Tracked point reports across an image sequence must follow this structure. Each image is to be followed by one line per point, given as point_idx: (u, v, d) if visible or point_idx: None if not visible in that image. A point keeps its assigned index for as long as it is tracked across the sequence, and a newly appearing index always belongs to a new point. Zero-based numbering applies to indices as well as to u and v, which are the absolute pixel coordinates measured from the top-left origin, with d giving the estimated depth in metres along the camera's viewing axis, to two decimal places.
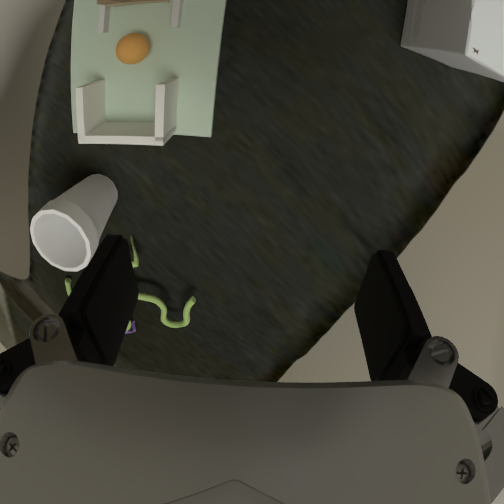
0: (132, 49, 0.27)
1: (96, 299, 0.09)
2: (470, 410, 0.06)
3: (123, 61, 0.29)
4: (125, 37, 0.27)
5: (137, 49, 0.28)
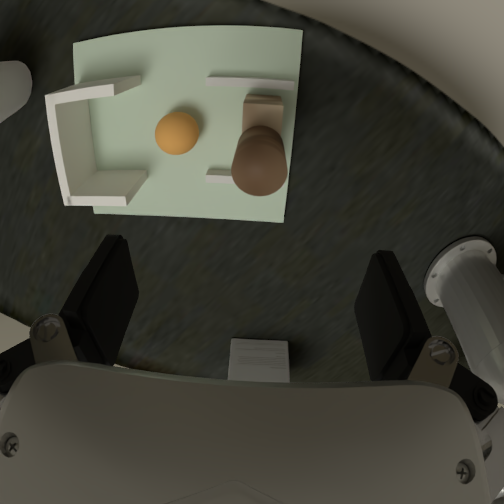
0: (171, 147, 0.25)
1: (96, 299, 0.09)
2: (470, 410, 0.06)
3: (156, 130, 0.25)
4: (190, 132, 0.25)
5: (172, 151, 0.26)
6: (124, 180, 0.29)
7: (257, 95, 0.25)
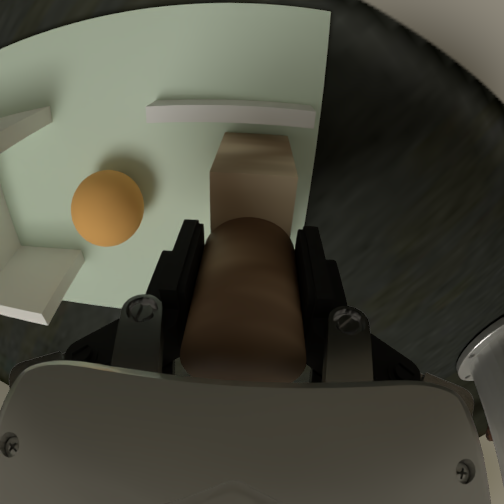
0: (95, 240, 0.14)
1: (189, 278, 0.10)
2: None
3: (71, 209, 0.14)
4: (122, 213, 0.14)
5: (99, 245, 0.15)
6: (48, 272, 0.17)
7: (244, 136, 0.14)
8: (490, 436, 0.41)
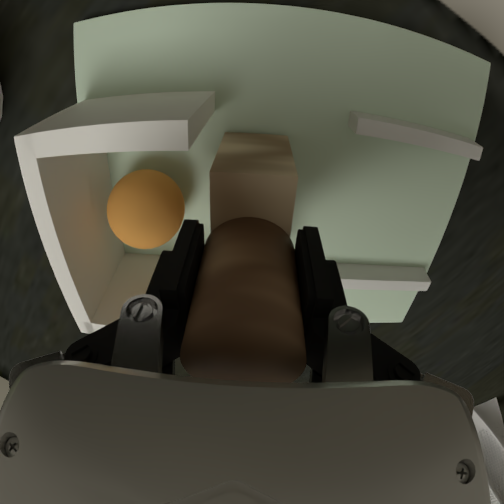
0: None
1: (189, 278, 0.10)
2: None
3: (181, 196, 0.15)
4: None
5: None
6: None
7: (244, 136, 0.14)
8: None
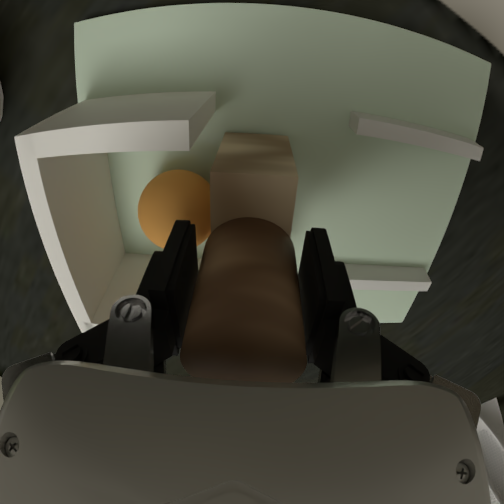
0: None
1: (179, 279, 0.10)
2: None
3: None
4: None
5: None
6: None
7: (244, 136, 0.14)
8: None
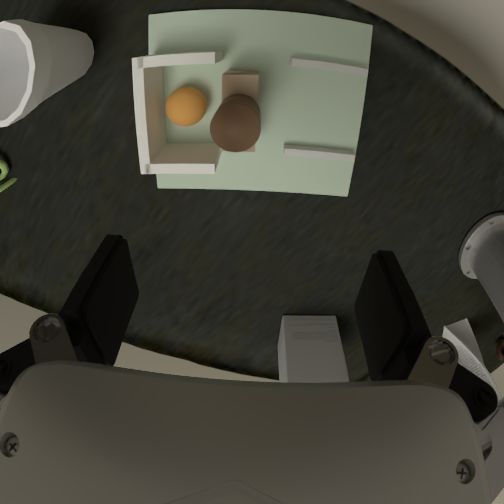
0: None
1: (96, 299, 0.09)
2: (470, 410, 0.06)
3: (205, 99, 0.28)
4: None
5: None
6: (204, 151, 0.30)
7: (237, 70, 0.26)
8: (500, 354, 0.53)
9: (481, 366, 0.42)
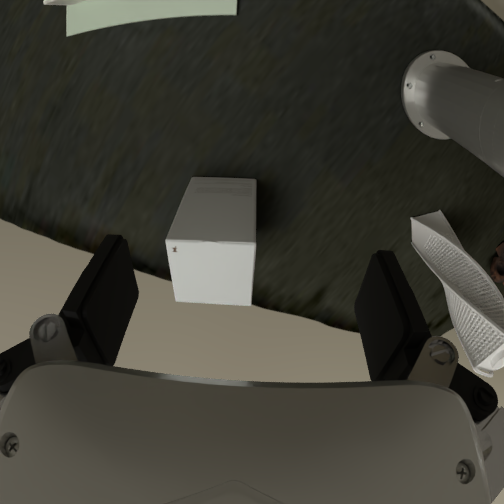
0: None
1: (96, 299, 0.09)
2: (470, 410, 0.06)
3: None
4: None
5: None
6: None
7: None
8: (496, 273, 0.45)
9: (465, 256, 0.34)
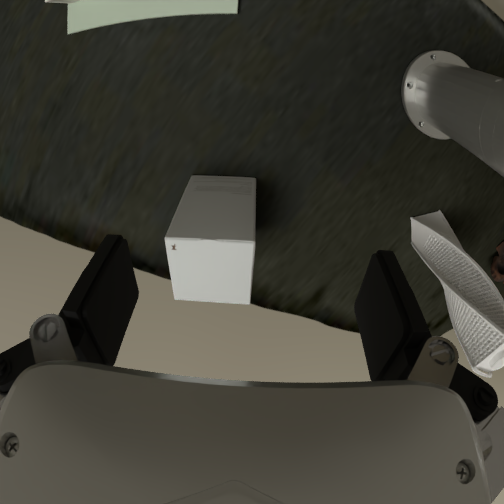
0: None
1: (96, 299, 0.09)
2: (470, 410, 0.06)
3: None
4: None
5: None
6: None
7: None
8: (496, 273, 0.44)
9: (464, 256, 0.34)
